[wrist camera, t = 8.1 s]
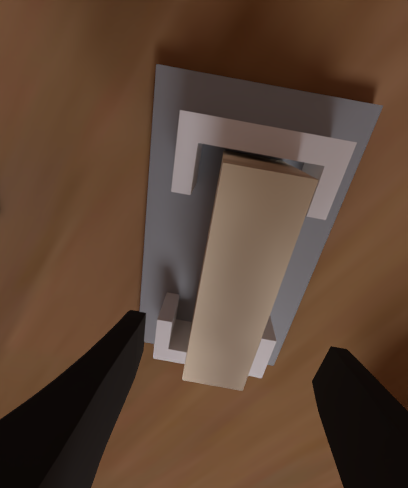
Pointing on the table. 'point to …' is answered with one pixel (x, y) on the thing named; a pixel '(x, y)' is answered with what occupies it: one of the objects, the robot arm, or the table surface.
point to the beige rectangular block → (244, 264)
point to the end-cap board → (206, 178)
